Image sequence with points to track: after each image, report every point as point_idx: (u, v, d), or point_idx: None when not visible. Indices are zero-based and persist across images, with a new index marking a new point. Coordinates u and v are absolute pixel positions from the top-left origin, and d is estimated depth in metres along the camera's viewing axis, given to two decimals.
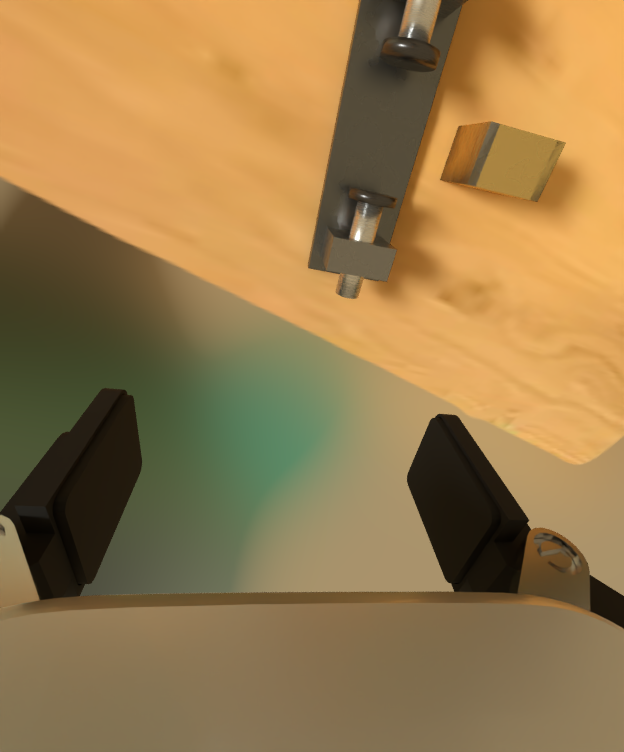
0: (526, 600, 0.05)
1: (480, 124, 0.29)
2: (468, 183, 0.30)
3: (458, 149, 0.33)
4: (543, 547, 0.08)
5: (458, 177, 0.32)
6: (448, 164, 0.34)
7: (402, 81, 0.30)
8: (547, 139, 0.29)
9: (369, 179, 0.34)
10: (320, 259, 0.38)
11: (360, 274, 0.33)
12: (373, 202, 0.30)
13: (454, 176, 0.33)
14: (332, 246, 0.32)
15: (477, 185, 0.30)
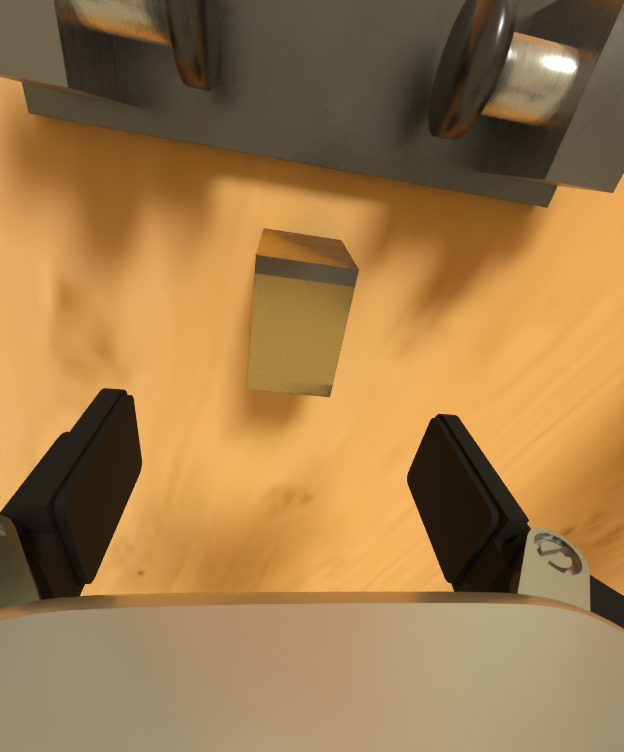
0: (526, 600, 0.05)
1: (350, 259, 0.17)
2: (258, 257, 0.15)
3: (310, 241, 0.19)
4: (543, 547, 0.08)
5: (268, 244, 0.17)
6: (287, 234, 0.20)
7: (409, 102, 0.16)
8: (333, 370, 0.18)
9: (245, 46, 0.15)
10: None
11: None
12: None
13: (269, 240, 0.17)
14: None
15: (256, 277, 0.15)
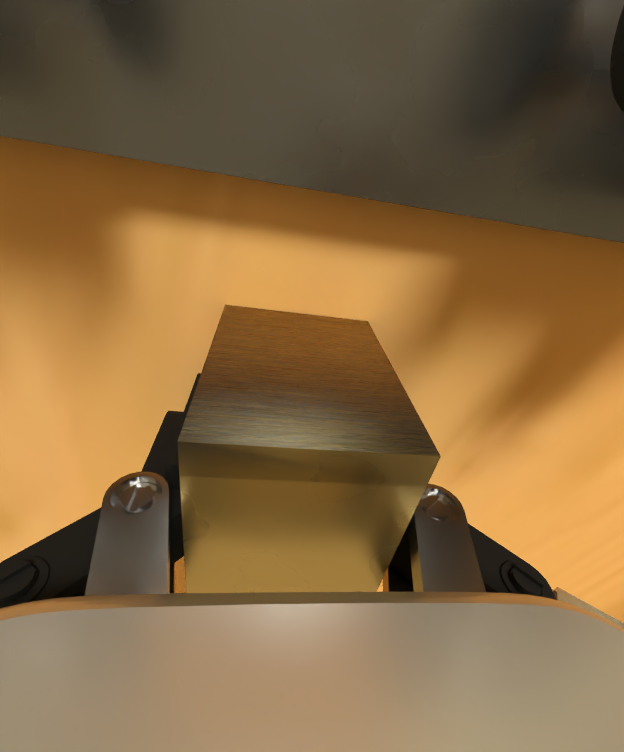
0: (526, 600, 0.05)
1: (406, 400, 0.08)
2: (183, 445, 0.06)
3: (314, 339, 0.10)
4: (427, 503, 0.08)
5: (222, 372, 0.07)
6: (268, 319, 0.10)
7: (537, 54, 0.07)
8: None
9: None
10: None
11: None
12: None
13: (228, 353, 0.08)
14: None
15: (186, 481, 0.06)
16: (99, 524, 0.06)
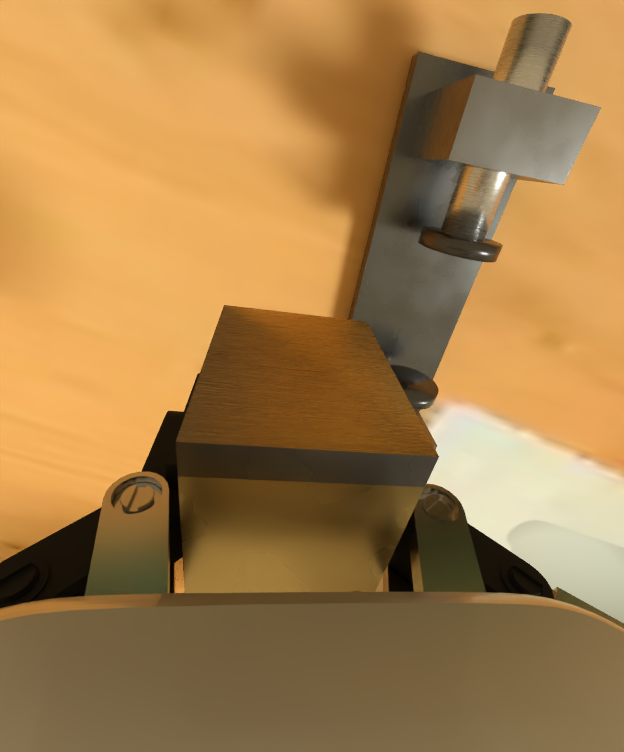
0: (526, 600, 0.05)
1: (404, 400, 0.08)
2: (181, 445, 0.06)
3: (313, 339, 0.10)
4: (426, 504, 0.08)
5: (220, 373, 0.07)
6: (267, 319, 0.10)
7: (384, 350, 0.27)
8: None
9: (426, 251, 0.23)
10: None
11: (532, 96, 0.15)
12: (485, 248, 0.18)
13: (227, 353, 0.08)
14: (570, 164, 0.16)
15: (184, 482, 0.06)
16: (99, 524, 0.06)
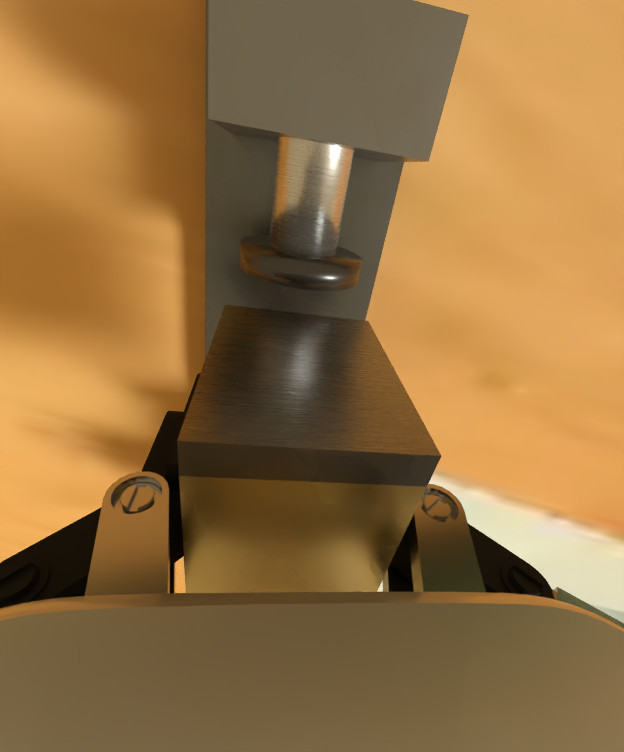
0: (526, 600, 0.05)
1: (406, 399, 0.08)
2: (183, 444, 0.06)
3: (314, 338, 0.10)
4: (427, 504, 0.08)
5: (222, 372, 0.07)
6: (268, 318, 0.10)
7: None
8: None
9: None
10: None
11: None
12: (316, 270, 0.11)
13: (228, 352, 0.08)
14: (434, 126, 0.09)
15: (185, 481, 0.06)
16: (99, 524, 0.06)
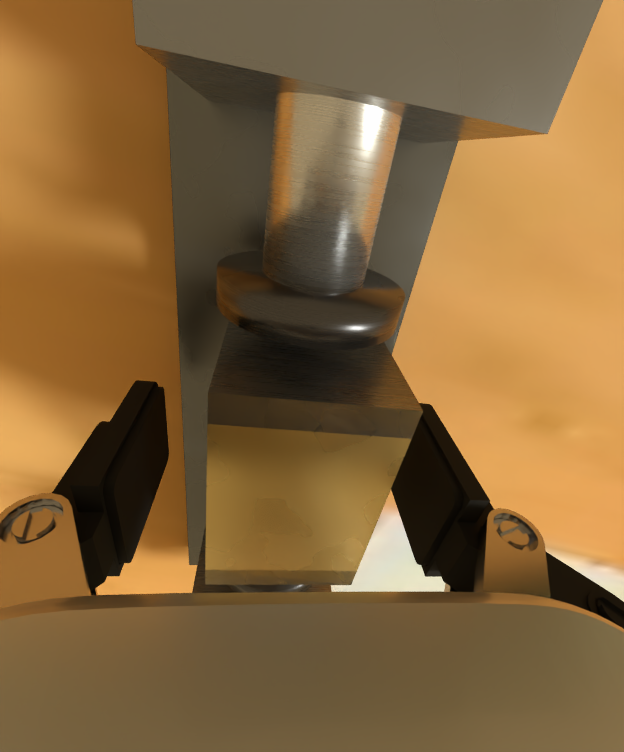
0: (526, 600, 0.05)
1: (396, 369, 0.09)
2: (212, 395, 0.07)
3: None
4: (502, 527, 0.08)
5: (239, 344, 0.09)
6: None
7: None
8: (360, 553, 0.10)
9: None
10: None
11: None
12: (339, 320, 0.07)
13: (243, 329, 0.09)
14: (568, 65, 0.05)
15: (212, 429, 0.07)
16: None
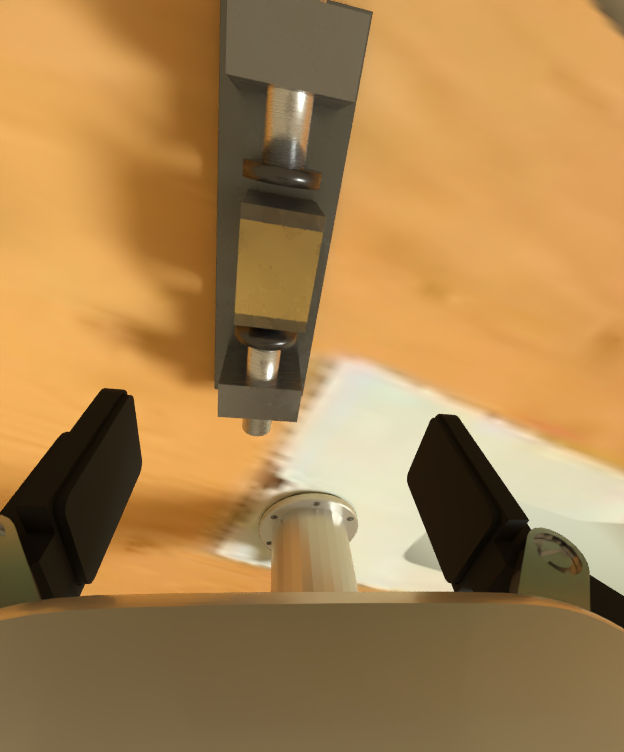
0: (526, 600, 0.05)
1: (320, 211, 0.20)
2: (242, 204, 0.18)
3: (288, 199, 0.22)
4: (543, 547, 0.08)
5: (251, 198, 0.20)
6: (268, 194, 0.23)
7: None
8: (307, 308, 0.22)
9: (276, 192, 0.23)
10: None
11: (294, 2, 0.15)
12: (290, 173, 0.18)
13: (253, 196, 0.21)
14: (357, 80, 0.16)
15: (241, 221, 0.19)
16: None
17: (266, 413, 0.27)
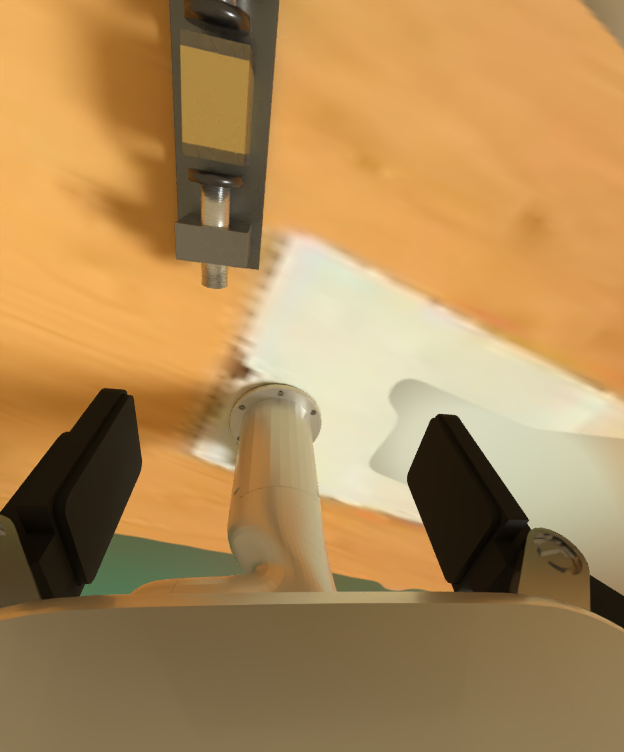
0: (526, 600, 0.05)
1: None
2: (181, 30, 0.23)
3: None
4: (543, 547, 0.08)
5: None
6: None
7: (212, 163, 0.32)
8: (243, 139, 0.26)
9: None
10: None
11: None
12: (218, 3, 0.22)
13: None
14: None
15: (181, 48, 0.23)
16: None
17: (218, 257, 0.31)
